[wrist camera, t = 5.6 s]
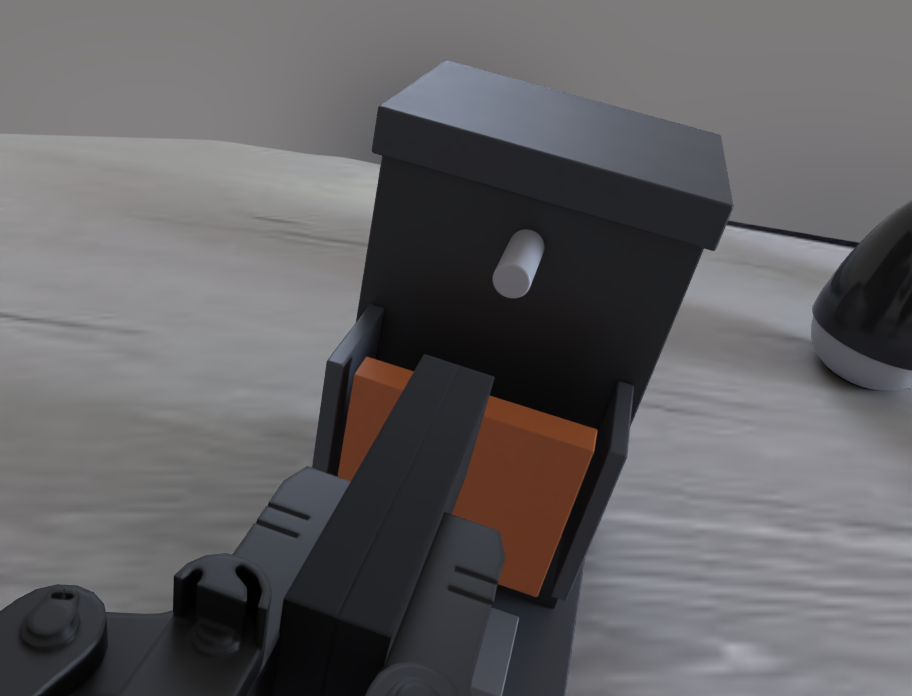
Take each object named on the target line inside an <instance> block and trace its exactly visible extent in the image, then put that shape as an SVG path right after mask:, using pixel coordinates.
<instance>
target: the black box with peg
mask: <svg viewBox="0 0 912 696" xmlns="http://www.w3.org/2000/svg"><path fill="white" fill-rule="evenodd" d="M372 152H373V153H375V154H379V155H382V161H381V167H380V173H379V179H378V186H377V192H376V198H375V205H374V211H373V217H372V224H371V230H370V236H369V243H368V249H367V255H366V262H365V268H364V274H363V281H362V287H361V293H360V300H359V306H358V312H357V319H356V324H355V325H354V326H353V327H352V329H351V330H350V331H349V333H348V334H347V335H346V337H345V338H344V339H343V341H342V342H341V343H340V345H339V346H338V347H337V348H336V350H335V351H334V352H333V354H332V355H331V356H330V358H329V359H328V360H327V364H326V371H325V378H324V386H323V393H322V400H321V407H320V414H319V422H318V429H317V436H316V443H315V451H314V458H313V465H312V468H313V469H316V470H319V471H322V472H325V473H328V474H331V475H334V476H337V477H338V471H339V465H340V458H341V452H342V446H343V440H344V434H345V428H346V422H347V416H348V409H349V403H350V397H351V391H352V385H353V379H354V374H355V373H356V371H357V370H358V368H359V367H360V365H361V364H362V362H363V361H364V359H365V358H366V357H370V358H373V359H376V360H379V361H382V362H385V363H389V364H392V365H395V366H398V367H401V368H404V369H408V370H411V371H415V369H416V367H417V365H418V364H419V362H420V360H421V358H422V357H423V355H424V354H426V355H429V356H432V357H435V358H438V359H441V360H444V361H447V362H450V363H453V364H457V365H460V366H463V367H466V368H469V369H472V370H475V371H478V372H481V373H484V374H487V375H490V376H494V377H495V378H494V382H493V385H492V389H491V392H490V396H493V397H496V398H499V399H502V400H505V401H509V402H512V403H515V404H518V405H521V406H524V407H527V408H531V409H534V410H537V411H540V412H543V413H546V414H550V415H553V416H556V417H559V418H562V419H565V420H568V421H572V422H575V423H578V424H581V425H584V426H587V427H591V428H594V429H596V430H597V436H596V443H595V449H594V453H593V456H592V458H591V461H590V463H589V466H588V469H587V471H586V474H585V476H584V479H583V481H582V484H581V486H580V489H579V492H578V494H577V497H576V499H575V502H574V504H573V507H572V509H571V512H570V515H569V517H568V520H567V522H566V525H565V527H564V530H563V532H562V535H561V538H560V540H559V543H558V545H557V548H556V550H555V553H554V556H553V558H552V561H551V563H550V566H549V568H548V571H547V573H546V576H545V579H544V581H543V584H542V586H541V589H540V591H539V594H538V596H537V597H534V596H531V595H529V594H526V593H523V592H520V591H517V590H514V589H511V588H508V587H505V586H502V585H499V584H498V585H497V590H496V593H495V597H494V601H493V604H492V608H491V612H490V615H489V619H488V623H487V626H486V630H485V634H484V637H483V641H482V645H481V649H480V652H479V656H478V660H477V663H476V667H475V671H474V674H473V678H472V685H471V696H565V693H566V686H567V679H568V672H569V665H570V658H571V651H572V644H573V637H574V630H575V623H576V616H577V609H578V602H579V595H580V588H581V581H582V574H583V567H584V559H585V556H586V553H587V551H588V549H589V546H590V544H591V542H592V539H593V537H594V534H595V532H596V530H597V527H598V525H599V523H600V520H601V518H602V515H603V513H604V511H605V508H606V506H607V504H608V501H609V499H610V497H611V494H612V492H613V489H614V487H615V485H616V482H617V480H618V478H619V475H620V473H621V471H622V468H623V466H624V463H625V461H626V459H627V454H628V443H629V432H630V426H631V424H632V421H633V419H634V417H635V414H636V412H637V409H638V407H639V405H640V402H641V400H642V397H643V395H644V392H645V390H646V388H647V385H648V383H649V380H650V378H651V376H652V373H653V371H654V368H655V366H656V363H657V361H658V359H659V356H660V354H661V351H662V349H663V347H664V344H665V342H666V339H667V337H668V334H669V332H670V330H671V327H672V325H673V322H674V320H675V318H676V315H677V313H678V310H679V308H680V305H681V303H682V301H683V298H684V296H685V293H686V291H687V289H688V286H689V284H690V281H691V279H692V276H693V274H694V272H695V269H696V267H697V264H698V262H699V260H700V257H701V255H702V252H703V250H704V248H705V249H708V250H711V251H714V250H715V249H716V248H717V246H718V243H719V241H720V238H721V236H722V234H723V231H724V229H725V227H726V224H727V222H728V219H729V217H730V215H731V212H732V210H733V201H732V195H731V189H730V184H729V178H728V173H727V167H726V162H725V156H724V151H723V145H722V139H721V136H720V135H718V134H715V133H711V132H708V131H703V130H700V129H696V128H693V127H689V126H686V125H682V124H678V123H675V122H671V121H667V120H664V119H660V118H656V117H653V116H649V115H645V114H642V113H638V112H634V111H631V110H627V109H623V108H620V107H616V106H612V105H609V104H605V103H601V102H598V101H594V100H590V99H586V98H583V97H579V96H576V95H572V94H568V93H565V92H561V91H558V90H554V89H550V88H546V87H543V86H539V85H535V84H532V83H528V82H524V81H521V80H517V79H513V78H510V77H506V76H503V75H499V74H495V73H492V72H488V71H484V70H480V69H477V68H473V67H469V66H466V65H462V64H459V63H455V62H451V61H447V60H445V61H444V62H442V63H441V64H439V65H438V66H436V67H435V68H434V69H432V70H431V71H429V72H428V73H426V74H425V75H423V76H422V77H420V78H419V79H417V80H416V81H415V82H413V83H412V84H410V85H409V86H407V87H406V88H404V89H403V90H401V91H400V92H399V93H398V94H396V95H394V96H393V97H391V98H390V99H388V100H387V101H385V102H384V103H383V104H381V105H380V106H379V107H378V112H377V118H376V125H375V132H374V138H373V145H372Z"/></svg>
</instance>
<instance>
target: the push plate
mask: <svg viewBox="0 0 912 696" xmlns="http://www.w3.org/2000/svg"><path fill="white" fill-rule="evenodd" d="M413 372H414V371H411V370H408V369H404V368H401V367H398V366H395V365H392V364H389V363H385V362H382V361H379V360H376V359H373V358H370V357H366V358H365V359H364V361H363V362H362V364H361V365H360V367H359V368H358V370H357V371H356V373H355V374H354V379H353V385H352V391H351V397H350V403H349V409H348V416H347V422H346V428H345V434H344V440H343V446H342V452H341V458H340V465H339V471H338V477H340V478H342V479H345V480H348V481H351V480H352V478H353V477H354V475H355V473H356V472H357V470H358V468H359V466H360V465H361V463H362V461H363V459H364V458H365V456H366V454H367V452H368V451H369V449H370V447H371V445H372V444H373V442H374V440H375V438H376V437H377V435H378V433H379V432H380V430H381V428H382V426H383V425H384V423H385V421H386V419H387V418H388V416H389V414H390V412H391V411H392V409H393V407H394V405H395V404H396V402H397V400H398V398H399V397H400V395H401V393H402V392H403V390H404V388H405V386H406V385H407V383H408V381H409V379H410V378H411V376H412V374H413ZM596 436H597V430H596V429H594V428H591V427H587V426H584V425H581V424H578V423H575V422H572V421H568V420H565V419H562V418H559V417H556V416H553V415H550V414H546V413H543V412H540V411H537V410H534V409H531V408H527V407H524V406H521V405H518V404H515V403H512V402H509V401H505V400H502V399H499V398H496V397H493V396H490V395H489V399H488V402H487V406H486V409H485V413H484V416H483V419H482V423H481V426H480V430H479V433H478V437H477V440H476V444H475V447H474V450H473V454H472V457H471V461H470V464H469V468H468V471H467V474H466V478H465V480H464V483H463V486H462V488H461V491H460V494H459V496H458V499H457V502H456V504H455V507H454V509H453V512H452V515H455V516H458V517H461V518H464V519H467V520H470V521H473V522H475V523H478V524H481V525H484V526H487V527H490V528H493V529H496V530H499V531H500V534H501V539H502V543H503V547H504V552H505V556H506V557H505V560H504V564H503V568H502V571H501V575H500V579H499V582H498V584H499V585H502V586H505V587H508V588H511V589H514V590H517V591H520V592H523V593H526V594H529V595H531V596H534V597H537V596H538V594H539V591H540V589H541V586H542V584H543V581H544V579H545V576H546V573H547V571H548V568H549V566H550V563H551V561H552V558H553V556H554V553H555V550H556V548H557V545H558V543H559V540H560V538H561V535H562V532H563V530H564V527H565V525H566V522H567V520H568V517H569V515H570V512H571V509H572V507H573V504H574V502H575V499H576V497H577V494H578V492H579V489H580V486H581V484H582V481H583V479H584V476H585V474H586V471H587V469H588V466H589V463H590V461H591V458H592V456H593V453H594V449H595V443H596Z"/></svg>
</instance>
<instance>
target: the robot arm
mask: <svg viewBox="0 0 912 696" xmlns="http://www.w3.org/2000/svg"><path fill="white" fill-rule="evenodd" d="M494 378H495V377H494V376H490V375H487V374H484V373H481V372H478V371H475V370H472V369H469V368H466V367H463V366H460V365H457V364H453V363H450V362H447V361H444V360H441V359H438V358H435V357H432V356H429V355H426V354H424V355H423V357H422V358H421V360H420V362H419V364H418V365H417V367H416V369H415V371H414V372H413V374H412V376H411V378H410V379H409V381H408V383H407V385H406V386H405V388H404V390H403V392H402V393H401V395H400V397H399V398H398V400H397V402H396V404H395V405H394V407H393V409H392V411H391V412H390V414H389V416H388V418H387V419H386V421H385V423H384V425H383V426H382V428H381V430H380V432H379V433H378V435H377V437H376V438H375V440H374V442H373V444H372V445H371V447H370V449H369V451H368V452H367V454H366V456H365V458H364V459H363V461H362V463H361V465H360V466H359V468H358V470H357V472H356V473H355V475H354V477H353V478H352V480H351V481H348V480H345V479H342V478H340V477H337V476H334V475H331V474H328V473H325V472H322V471H319V470H316V469H313V468H311V467H308V466H307V467H306V468H304V469H302V470H301V471H299V472H297V473H296V474H294V475H293V476H291V477H289V478H288V479H286V480H284V481H283V483H282V484H281V485H280V487H279V488H278V490H277V491H276V493H275V494H274V496H273V497H272V498H271V500H270V501H269V504H268V506H266V507H265V509H264V510H263V511H262V513H261V514H260V516H259V517H258V519H257V522H256V524H253V526H252V527H251V529H250V530H249V532H248V533H247V535H246V536H245V538H244V539H243V540H242V542H241V543H240V545H239V546H238V548H237V549H236V551H235V552H234V553H233V555H232V554H226V553H224V554H215V555H206V556H203V557H201V558H199V559H196V560H194V561H192V562H189V563H187V564H186V565H185V566H184V567H183V568H182V569H181V570H180V571H179V572H177V573H176V574H175V575H174V593H173V611H170V612H165V613H160V614H134V613H115V612H105V606H104V604H103V602H102V601H101V600H100V599H99V598H98V597H97V596H96V595H95V593H94V592H91V591H89V590H87V589H84V588H82V587H79V586H75V585H58V584H57V585H53V586H48V587H44V588H39V589H36V590H34V591H32V592H30V593H28V594H26V595H24V596H22V597H20V598H19V599H17V600H15V601H14V602H13V603H11V604H10V605H8V606H7V607H6V608H4V609H3V610H1V611H0V696H471V685H472V678H473V674H474V671H475V667H476V663H477V660H478V656H479V652H480V649H481V645H482V641H483V637H484V634H485V630H486V626H487V623H488V619H489V615H490V612H491V608H492V604H493V601H494V597H495V593H496V590H497V585H498V582H499V579H500V575H501V571H502V568H503V564H504V560H505V557H506V556H505V552H504V547H503V543H502V539H501V534H500V531H499V530H496V529H493V528H490V527H487V526H484V525H481V524H478V523H475V522H473V521H470V520H467V519H464V518H461V517H458V516H455V515H452V512H453V509H454V507H455V504H456V502H457V499H458V496H459V494H460V491H461V488H462V486H463V483H464V480H465V478H466V474H467V471H468V468H469V464H470V461H471V457H472V454H473V450H474V447H475V444H476V440H477V437H478V433H479V430H480V426H481V423H482V419H483V416H484V413H485V409H486V406H487V402H488V399H489V395H490V392H491V389H492V385H493V382H494Z"/></svg>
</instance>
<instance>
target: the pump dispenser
mask: <svg viewBox="0 0 912 696" xmlns="http://www.w3.org/2000/svg"><path fill="white" fill-rule="evenodd" d="M812 312H813V319H812V325H811V337H812V343H813V346H814V348H815V351H816V353H817V355H818V356H819V358H820V359H821V360H822V361H823V363H824V364H825V365H826V366H827V367H828V368H829V369H830V370H832V371H833V372H834V373H835V374H837V375H838V376H840V377H841V378H843V379H845V380H847V381H849V382H851V383H853V384H856V385H858V386H861V387H865V388H869V389H874V390H881V391H895V390H902V389H906V388H909V387H912V200H910V201H908V202H907V203H905V204H904V205H902V206H901V207H899V208H898V209H896V210H895V211H894V212H892V213H891V214H890V215H889V216H888V217H886V218H885V219H884V220H883V221H882V222H881V223H879V224H878V225H877V226H876V227H875V228H874V229H873V230H872V231H871V232H870V233H869V234H868V235H867V236H866V237H865V238H864V239H863V240H862V241H861V242H860V243H859V244H858V245H857V246H856V247H855V248H854V250H853V251H852V252H851V253H850V254H849V255H848V256H847V257H846V259H845V260H844V261H843V262H842V263H841V265H840V266H839V267H838V269H837V270H836V271H835V272H834V274H833V275H832V276H831V278H830V279H829V281H828V282H827V283H826V285H825V286H824V287H823V289H822V290H821V292H820V294H819V295H818V297H817V299H816V301H815V303H814V305H813V308H812Z"/></svg>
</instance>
